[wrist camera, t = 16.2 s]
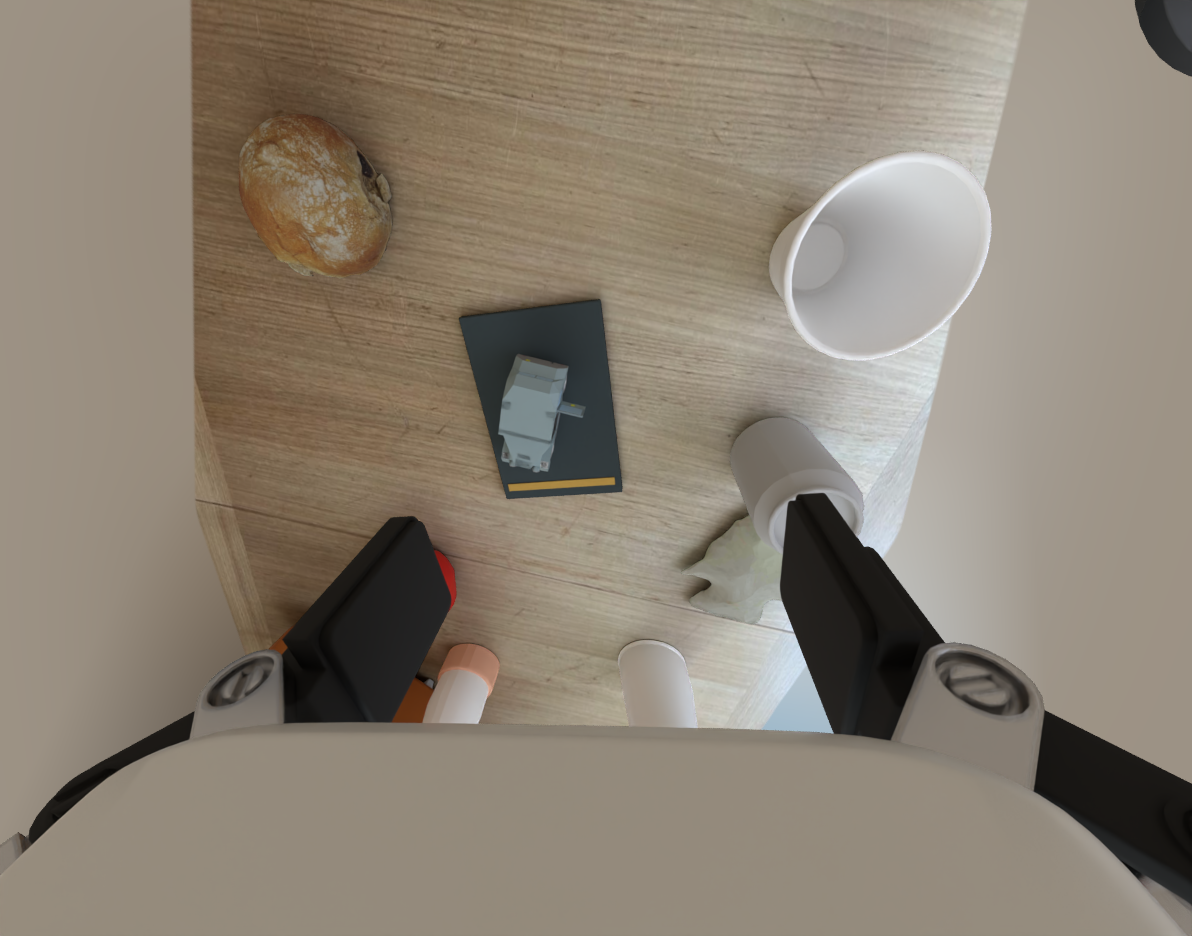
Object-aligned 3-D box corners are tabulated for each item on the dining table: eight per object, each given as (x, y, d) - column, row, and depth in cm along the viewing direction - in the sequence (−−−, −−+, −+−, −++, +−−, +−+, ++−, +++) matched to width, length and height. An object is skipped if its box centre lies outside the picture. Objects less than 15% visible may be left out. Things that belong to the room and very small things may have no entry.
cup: (914, 223, 30) (1042, 216, 21) (819, 348, 35) (887, 390, 25) (799, 148, 29) (878, 104, 19) (715, 289, 34) (746, 310, 24)
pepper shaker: (439, 663, 59) (359, 831, 42) (461, 635, 56) (383, 806, 39) (485, 685, 61) (425, 857, 44) (509, 659, 57) (454, 834, 41)
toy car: (508, 451, 41) (493, 476, 37) (522, 350, 36) (506, 365, 32) (573, 466, 41) (565, 493, 37) (595, 367, 37) (589, 385, 32)
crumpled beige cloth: (778, 626, 49) (833, 519, 42) (783, 650, 46) (843, 538, 39) (671, 595, 50) (706, 487, 43) (668, 617, 47) (706, 503, 40)
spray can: (717, 656, 53) (770, 948, 32) (686, 704, 58) (713, 984, 37) (629, 632, 53) (620, 913, 31) (605, 683, 58) (583, 954, 36)
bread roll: (426, 244, 37) (416, 218, 30) (324, 308, 36) (287, 297, 29) (343, 122, 34) (308, 58, 26) (227, 190, 33) (157, 143, 25)
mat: (600, 298, 35) (599, 300, 34) (622, 488, 43) (622, 492, 42) (461, 316, 36) (457, 318, 36) (508, 495, 45) (506, 499, 44)
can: (746, 497, 42) (781, 583, 32) (714, 436, 39) (742, 509, 29) (823, 465, 40) (889, 547, 29) (795, 398, 37) (857, 462, 27)
